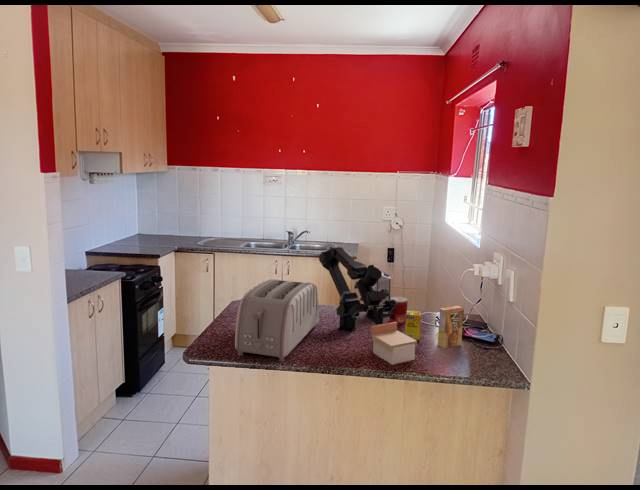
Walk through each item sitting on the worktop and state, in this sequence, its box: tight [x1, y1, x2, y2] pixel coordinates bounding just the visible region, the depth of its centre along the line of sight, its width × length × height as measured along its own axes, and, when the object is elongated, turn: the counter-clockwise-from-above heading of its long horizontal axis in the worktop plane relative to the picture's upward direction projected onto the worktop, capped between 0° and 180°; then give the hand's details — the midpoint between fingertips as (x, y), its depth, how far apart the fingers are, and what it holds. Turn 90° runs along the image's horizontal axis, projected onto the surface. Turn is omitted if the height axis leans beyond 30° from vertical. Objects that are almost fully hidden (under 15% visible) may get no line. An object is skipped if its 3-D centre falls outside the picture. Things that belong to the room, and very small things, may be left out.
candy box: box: [437, 305, 465, 349], centre depth 186 cm, size 9×4×15 cm, turn 116°
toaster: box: [234, 278, 320, 362], centre depth 187 cm, size 21×45×22 cm, turn 163°
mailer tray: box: [372, 341, 416, 366], centre depth 175 cm, size 12×10×6 cm
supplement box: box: [404, 310, 422, 342], centre depth 193 cm, size 6×6×11 cm
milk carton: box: [373, 272, 392, 317], centre depth 223 cm, size 7×7×20 cm
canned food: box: [388, 296, 408, 326], centre depth 212 cm, size 8×8×11 cm
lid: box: [370, 322, 418, 352], centre depth 175 cm, size 13×11×5 cm
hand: (381, 327), depth 181 cm, fingers closed
